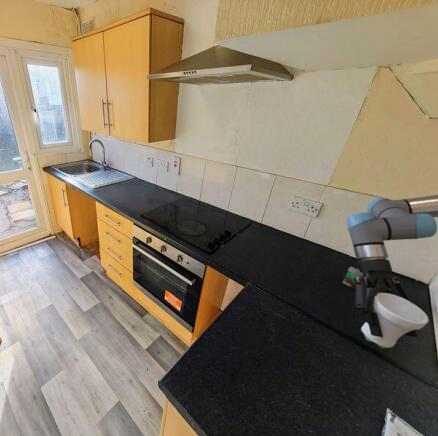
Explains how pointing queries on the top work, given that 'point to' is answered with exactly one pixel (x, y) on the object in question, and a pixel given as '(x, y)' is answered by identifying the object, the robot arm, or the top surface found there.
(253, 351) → the top surface
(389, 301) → the cup
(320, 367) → the top surface
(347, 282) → the food container
